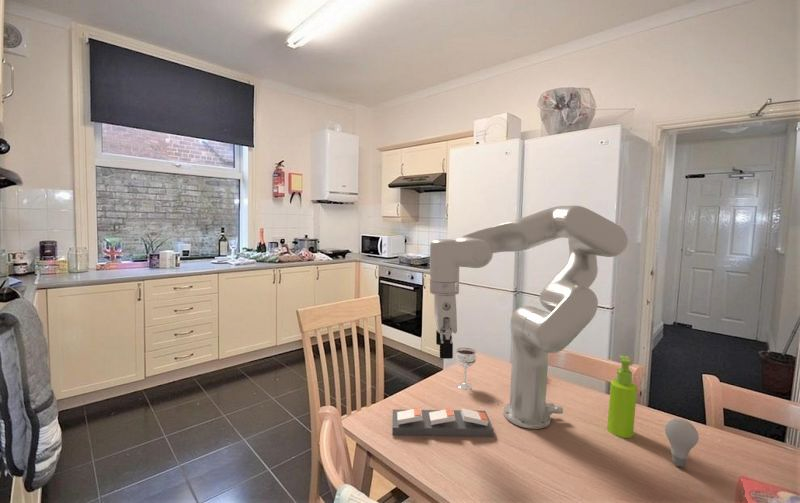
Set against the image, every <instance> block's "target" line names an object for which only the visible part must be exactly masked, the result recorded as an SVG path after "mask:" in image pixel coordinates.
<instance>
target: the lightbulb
mask: <svg viewBox="0 0 800 503" xmlns="http://www.w3.org/2000/svg"><path fill="white" fill-rule="evenodd" d="M664 433H665V435H666V437H667V440H668V441H669V444H670V453H671V462H672V463H673V464H674V465H675V466H676V467H679V468H681V467H686V464H687V459H688V458H689V455H690V452H691V450H692V449H693V448H694V447H695V446H697V444H698V443H699V438H700V437H699V436H700V435H699V431H698V430H697V429H696V427H695V426H694V424H693V423H691V422H690V421H688V420H685V419H683V418H678V417H677V418H671V419H670V420H668V421H667V422H666V424H665V426H664Z"/></svg>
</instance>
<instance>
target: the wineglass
mask: <svg viewBox="0 0 800 503" xmlns="http://www.w3.org/2000/svg"><path fill="white" fill-rule="evenodd" d="M455 351H456V353H455V360H456V362H457V363H458V364H459V365H460V366H462V368H463V375H464V376H463V382H458V383H457V384H456V386H457V388H459V389H461V390H470V389H472V388H473V386H472V384H470V383H468V382H466V381H467V380H466V379H467V369H468V368H469V367H472V366H473V365H474V364H475V363H476V360H477V356H476V354H477V350H475V349H473V348H471V347H458V348H456V349H455Z"/></svg>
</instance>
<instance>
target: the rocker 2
mask: <svg viewBox="0 0 800 503" xmlns="http://www.w3.org/2000/svg"><path fill="white" fill-rule="evenodd" d="M477 411H478V410H472V409H467V408H463V407H461V415H462V418H463V421H468V422H472V423H477V424H481V425H486V426H487V425H488V419H487V417H486V415H485V413H482V412H477Z"/></svg>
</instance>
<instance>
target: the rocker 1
mask: <svg viewBox="0 0 800 503" xmlns="http://www.w3.org/2000/svg"><path fill="white" fill-rule="evenodd" d="M405 410H406V411H400V412H397V421H398V425H399V424H404V423H410V422H415V421H420V420H423V418H422V411H421V410H422V408H421V407H417V408H412V409H405Z"/></svg>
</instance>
